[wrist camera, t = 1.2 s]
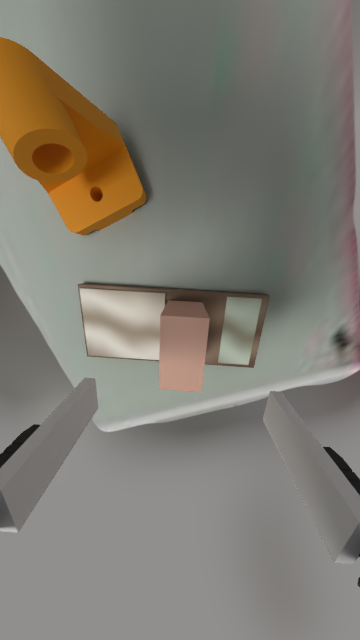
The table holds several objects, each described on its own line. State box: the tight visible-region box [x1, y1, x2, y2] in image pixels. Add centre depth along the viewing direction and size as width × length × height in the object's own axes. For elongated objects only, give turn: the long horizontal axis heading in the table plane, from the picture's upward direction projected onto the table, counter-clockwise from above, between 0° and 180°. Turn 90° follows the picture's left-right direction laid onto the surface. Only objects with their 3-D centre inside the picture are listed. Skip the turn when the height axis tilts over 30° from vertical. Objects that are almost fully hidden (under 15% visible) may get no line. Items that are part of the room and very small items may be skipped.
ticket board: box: [78, 283, 269, 368], centre depth 26 cm, size 12×28×2 cm, turn 87°
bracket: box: [0, 37, 146, 235], centre depth 17 cm, size 11×7×12 cm, turn 113°
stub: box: [159, 300, 210, 392], centre depth 22 cm, size 9×5×8 cm, turn 177°
